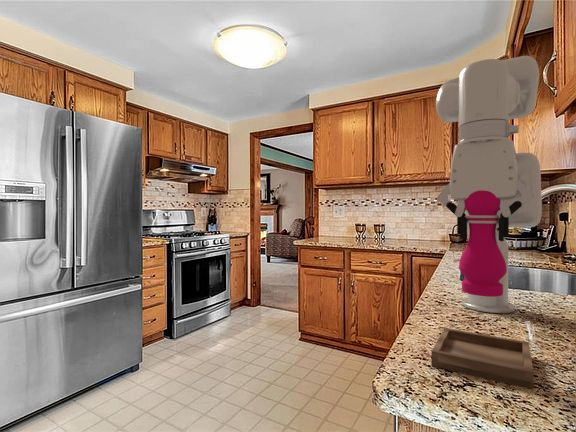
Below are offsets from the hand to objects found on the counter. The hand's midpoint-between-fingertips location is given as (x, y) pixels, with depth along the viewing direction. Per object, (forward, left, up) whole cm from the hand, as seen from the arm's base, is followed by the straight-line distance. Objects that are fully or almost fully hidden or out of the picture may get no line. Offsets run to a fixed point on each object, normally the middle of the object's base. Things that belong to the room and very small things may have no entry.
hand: (482, 238), depth 59 cm
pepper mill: (0, 0, -10) cm, 10 cm away
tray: (0, 0, -21) cm, 21 cm away
